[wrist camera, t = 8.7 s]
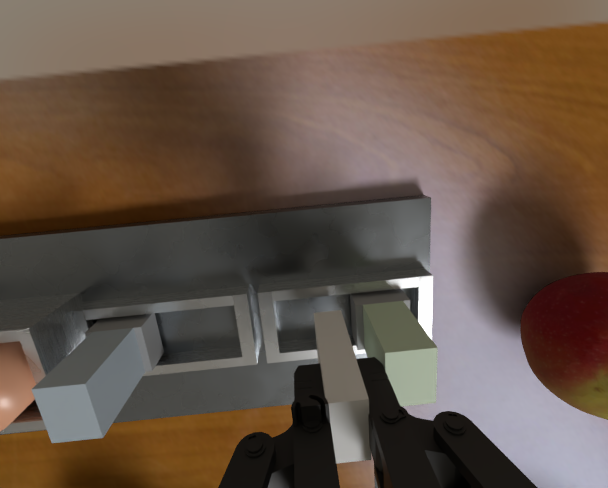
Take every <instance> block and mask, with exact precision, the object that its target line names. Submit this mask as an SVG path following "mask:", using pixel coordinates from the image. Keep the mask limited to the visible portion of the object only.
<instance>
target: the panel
mask: <svg viewBox="0 0 608 488" xmlns="http://www.w3.org/2000/svg"><path fill="white" fill-rule="evenodd" d="M430 221H431V198H430V197H428V196H425V195H421V196H410V197H400V198H390V199H379V200H369V201H358V202H348V203H338V204H327V205H317V206H306V207H296V208H285V209H275V210H265V211H254V212H244V213H233V214H223V215H212V216H202V217H192V218H181V219H171V220H160V221H150V222H140V223H129V224H119V225H108V226H98V227H87V228H77V229H67V230H56V231H46V232H35V233H25V234H15V235H4V236H0V343H7V342H17V341H20V343H21V346H22V348H23V351H24V354H25V356H26V359H27V362H28V364H29V367H30V369H31V372H32V375H33V377H34V380H35V383H36V385H37V384H38V383H39V382H40V381H41V380H42V379H43V378H44V377H45V376H46V375H47V374H48V373H49V372H50V371H51V370H52V369H54V368H55V367H56V366H57V365H58V364H59V363H60V362H61V361H62V360H63V359H64V358H65V357H66V356H67V355H68V354H69V353H71V352H72V351H73V350H74V349H75V348H76V347H77V346H78V345H79V344H80V343H81V342H82V341H83V340H84V339H85V338H86V335H85V332H86V331H87V330H88V329H90V328H91V327H92V326H93V325H94V324H95V323H96V322H97V321H98V320H99V319H102V318H112V317H122V316H132V315H142V314H152V313H155V317H156V321H157V325H158V329H159V334H160V338H161V342H162V346H163V350H164V353H163V355H162V356H161V358H160V360H159V361H158V363H157V365H156V366H155V368H154V369H153V371H150V372H145V373H144V375H143V376H142V378H141V379H140V381H139V382H138V384H137V386H136V387H135V389H134V390H133V392H132V393H131V395H130V397H129V398H128V400H127V401H126V403H125V404H124V406H123V407H122V409H121V411H120V412H119V414H118V415H117V417H116V418H115V420H114V422H113V423H117V422H126V421H136V420H146V419H155V418H165V417H174V416H184V415H193V414H203V413H213V412H222V411H232V410H241V409H251V408H260V407H270V406H279V405H289V404H292V403H293V401H294V373H295V371H296V369H297V367H298V366H299V365H309V364H318V356H317V345H316V334H315V323H314V313H317V312H327V311H337V310H341V312H342V315H343V318H344V321H345V324H346V328H347V331H348V334H349V337H350V340H351V344H352V347H353V350H354V353H355V356H356V359H360V358H368V357H367V354H366V352H365V349H364V350H357V347H356V344H355V341H354V338H353V335H352V324H351V306H350V294H352V293H362V292H372V291H382V290H392V289H402V290H403V291H404V293H405V294H406V295H407V297H408V298H409V299H410V311H411V312H412V314H413V315H414V316H415V318H416V319H417V321H418V322H419V323H420V325H421V326H422V327H423V329H424V330H425V331H426V333H427V334H428V335H429V337H430V338H431V340H432V295H433V275H432V274H431V273H430ZM40 430H47V429H46V426H45V424H44V421H43V419H42V416H41V413H40V411H39V408H38V406H37V403H36V400H34V401H33V402H32V403H31V404H30V405H29V406H28V407H27V408H26V409H25V410H24V411H23V412H22V413H21V414H20V415H19V416H18V417H17V418H16V419H15V420H14V421H13V422H12V423H11V424H10V425H8V426H7V427H6V428H5V429H4V430H2V431H0V435H2V434H12V433H21V432H31V431H40Z"/></svg>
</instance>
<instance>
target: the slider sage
mask: <svg viewBox="0 0 608 488" xmlns="http://www.w3.org/2000/svg"><path fill="white" fill-rule="evenodd" d="M350 306H351V324H352V335H353V338H354V341H355V344H356V347H357V350H364V349H365V352H366V354H367V357H368V358H370V357H375V358H376V359H378V360H379V361H380V362H381V363H382V364H383V367H384V369H385V371H386V374H387V376H388V378H389V381H390V383H391V385H392V388H393V390H394V392H395V395H396V397H397V399H398V402H399V404H400V406H410V405H420V404H429V403H436V382H437V346H436V345H435V344H434V342H433V341H432V340H431V338H430V337H429V335H428V334H427V333H426V331H425V330H424V329H423V327H422V326H421V325H420V323H419V322H418V321H417V319H416V318H415V316H414V315H413V314H412V312H411V311H410V299H409V298H408V297H407V295H406V294H405V293H404V291H403V290H402V289H392V290H382V291H372V292H362V293H352V294H350Z"/></svg>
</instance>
